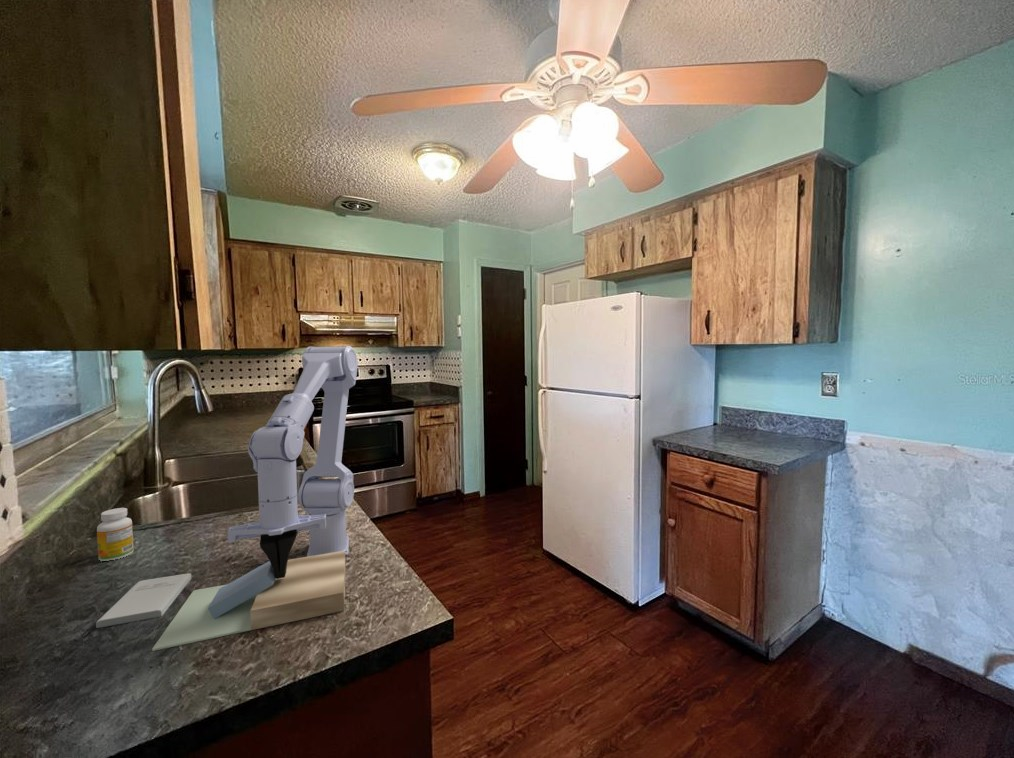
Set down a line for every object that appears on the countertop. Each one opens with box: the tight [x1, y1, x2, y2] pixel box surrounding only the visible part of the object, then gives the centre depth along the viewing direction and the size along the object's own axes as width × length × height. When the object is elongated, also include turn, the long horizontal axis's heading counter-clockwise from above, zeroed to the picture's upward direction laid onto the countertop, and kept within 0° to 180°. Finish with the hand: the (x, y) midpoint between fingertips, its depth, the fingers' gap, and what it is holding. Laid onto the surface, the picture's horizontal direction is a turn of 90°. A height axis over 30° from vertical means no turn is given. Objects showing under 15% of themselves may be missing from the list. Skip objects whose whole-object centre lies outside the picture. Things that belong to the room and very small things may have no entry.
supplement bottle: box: [96, 507, 134, 562], centre depth 86 cm, size 5×5×10 cm
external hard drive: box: [95, 573, 192, 629], centre depth 70 cm, size 2×8×12 cm
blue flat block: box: [208, 560, 275, 619], centre depth 68 cm, size 6×9×2 cm, turn 111°
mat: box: [151, 584, 257, 652], centre depth 67 cm, size 16×12×1 cm
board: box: [250, 551, 347, 631], centre depth 71 cm, size 16×13×3 cm
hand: (281, 575), depth 70 cm, fingers closed
